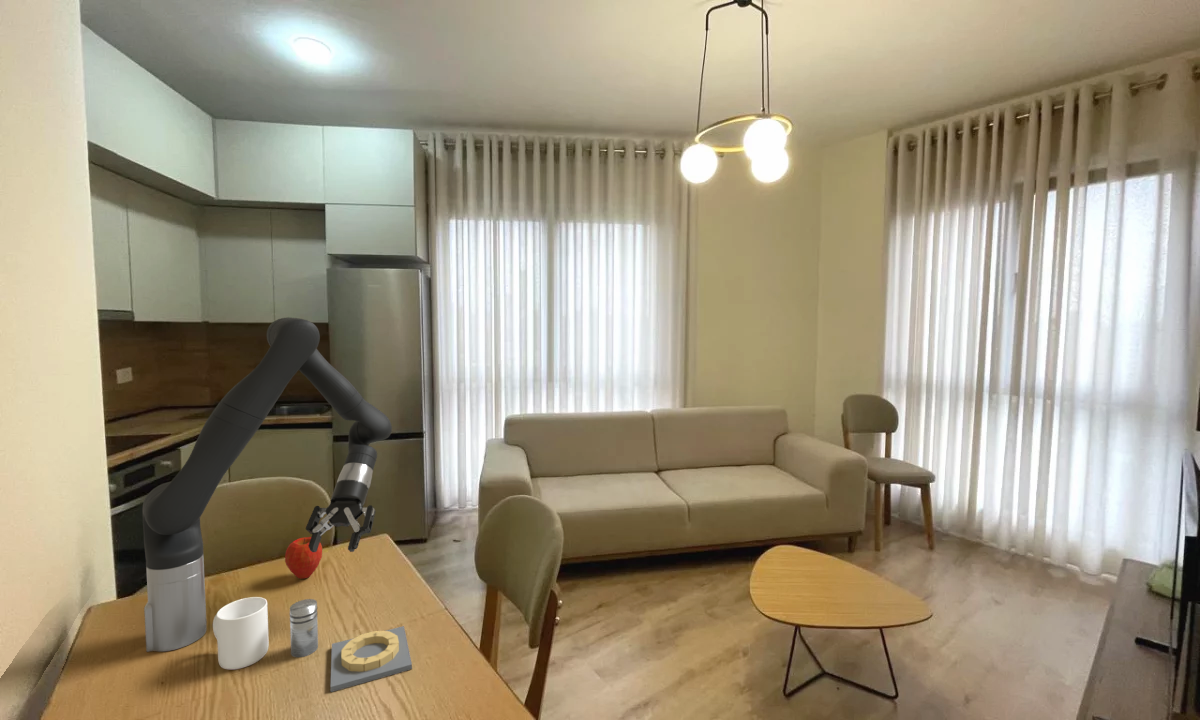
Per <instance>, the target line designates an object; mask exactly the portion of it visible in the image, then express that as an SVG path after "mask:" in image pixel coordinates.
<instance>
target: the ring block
mask: <svg viewBox="0 0 1200 720" xmlns="http://www.w3.org/2000/svg"><path fill="white" fill-rule="evenodd" d="M411 658H412V657H411V654H410V649H409V643H408V639H407V634H406V630H405V625H403V626H399V627H395V628H391V629H390V628H389V629H386V630H377V631H376V630H374V631H370V632H366V633H365V632H364V633H362V634H359V635H358V636H356V637H354V638H350V639H346V640H342V641H338V642H333V643H331V658H330V659H331V661H330V665H331V666H330V693H333V692H336V691H339V690H343V689H347V688H351V687H353V686H358V685H362V684H365V683H368V682H369V683H370V682H372V681H375V680H380V679H382V678H383V679H384V678H386V677H389V676H393V675H396V674H400V673H403V672H407V671H411V670H412V669H413V664H412V659H411ZM410 669H411V670H410Z"/></svg>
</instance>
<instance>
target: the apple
mask: <svg viewBox="0 0 1200 720" xmlns="http://www.w3.org/2000/svg"><path fill="white" fill-rule="evenodd" d="M311 537H312V536H307V537H300V538H297V539H296V540H293V541H292V542H291V543H289V545H288V546H287V548H286V550H285V553H284V555H285V556H284V562H285V565H286V567H287V568H288V570H289V571H290V573H292V574H293V575H294V576H295V577H296V578H297V579H300V580H302V579H308V578H310V577H311V576H312V575H313V574H314V572H315V571H316V569H317V568H318V566H319V565H320V562H321V559H322V557H323V546H322V543H321V542H320V543H319V546H318V549H317V552H312V551H310V548H309V542H310V540H311Z"/></svg>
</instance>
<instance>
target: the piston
mask: <svg viewBox="0 0 1200 720" xmlns="http://www.w3.org/2000/svg"><path fill="white" fill-rule="evenodd" d="M289 623H290V624H289V627H290V633H289V634H290V656H291V657H293V658H303V657H307V656H310V655H312V654H313V653H315V652H316V651H317V650H318V648H319V627H318V602H317V600H316V599H314V598H313V599H312V598H307V599H301V600H299V601H296V602H294V603H293V604H292V605H290V607H289Z"/></svg>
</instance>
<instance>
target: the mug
mask: <svg viewBox="0 0 1200 720" xmlns="http://www.w3.org/2000/svg"><path fill="white" fill-rule="evenodd" d="M268 615H269V614H268V600H267V599H266V598H264V597H261V596H251V597H244V598H241V599H237V600H235V601H231V602H230V603H227V604H225V605H224V606H223V607H221V608H219V610H218V611H217V613H216V614H215V615H214V617H213V621H212V630H213V634H214V637H215V638H216V640H217V641H216V642H217V659H218V664H219V666H220V667H221V668H222V669H224V670H232V671H233V670H239V669H243V668H246V667H249V666H251V665H254V664H256V663H257V662H259V661H260V660H261V659H262V658H263V657H264V656H266V654H267V653H268V650H269V618H268V617H269V616H268Z"/></svg>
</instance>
